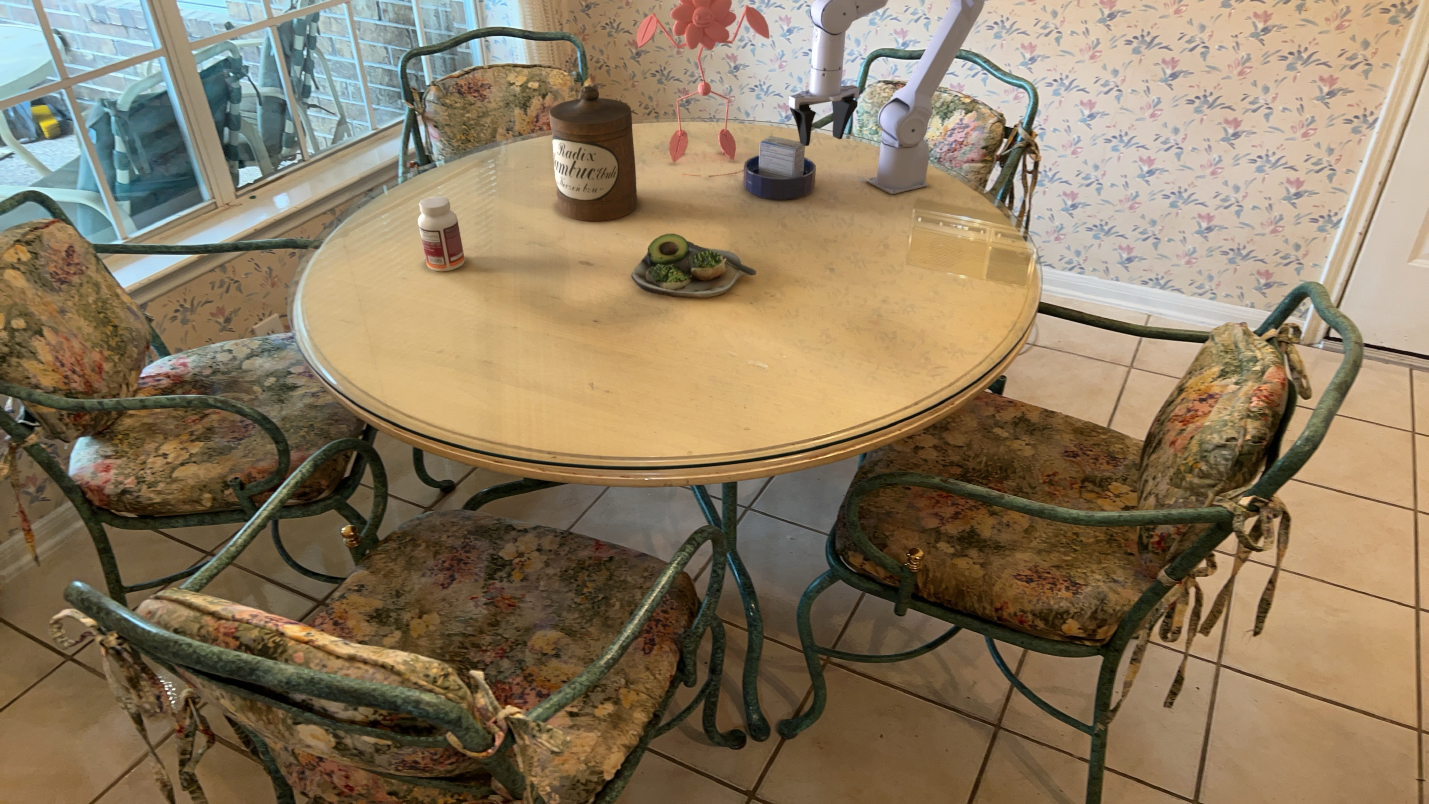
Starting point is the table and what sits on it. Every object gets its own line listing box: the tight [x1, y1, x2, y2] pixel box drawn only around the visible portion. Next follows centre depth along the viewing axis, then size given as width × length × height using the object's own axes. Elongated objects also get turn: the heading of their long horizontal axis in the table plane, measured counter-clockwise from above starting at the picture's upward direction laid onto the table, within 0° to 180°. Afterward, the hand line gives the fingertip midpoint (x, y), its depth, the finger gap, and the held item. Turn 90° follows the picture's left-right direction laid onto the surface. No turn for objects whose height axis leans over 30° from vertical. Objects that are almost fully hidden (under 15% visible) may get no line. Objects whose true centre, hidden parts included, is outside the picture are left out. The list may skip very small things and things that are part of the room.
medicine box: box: [758, 135, 806, 179], centre depth 176 cm, size 8×4×9 cm, turn 59°
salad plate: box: [630, 233, 758, 299], centre depth 146 cm, size 19×18×5 cm
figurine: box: [636, 0, 770, 178], centre depth 178 cm, size 15×26×35 cm, turn 94°
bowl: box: [742, 154, 817, 201], centre depth 177 cm, size 14×14×4 cm
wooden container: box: [548, 86, 638, 222], centre depth 164 cm, size 15×15×22 cm
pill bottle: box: [417, 195, 465, 272], centre depth 147 cm, size 6×6×11 cm
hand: (821, 141), depth 170 cm, fingers open, 7 cm apart
